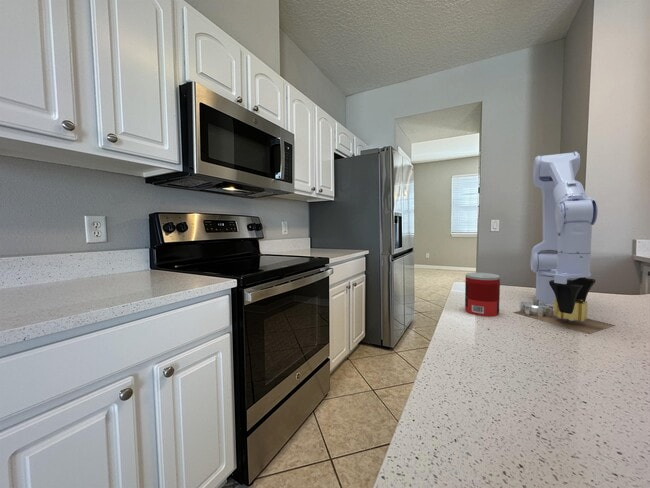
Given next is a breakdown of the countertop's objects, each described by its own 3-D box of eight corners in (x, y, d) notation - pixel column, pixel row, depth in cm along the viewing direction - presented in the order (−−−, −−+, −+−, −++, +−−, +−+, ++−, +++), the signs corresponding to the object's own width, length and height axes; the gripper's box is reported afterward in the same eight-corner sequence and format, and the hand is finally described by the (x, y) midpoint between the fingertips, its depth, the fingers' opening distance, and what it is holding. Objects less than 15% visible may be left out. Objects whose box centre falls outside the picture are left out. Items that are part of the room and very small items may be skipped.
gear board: (538, 310, 78) (538, 294, 78) (615, 329, 63) (616, 310, 63) (512, 316, 74) (512, 299, 73) (589, 338, 59) (589, 317, 59)
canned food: (505, 320, 71) (506, 277, 70) (473, 320, 71) (474, 277, 70) (488, 310, 79) (489, 272, 78) (459, 311, 79) (460, 272, 78)
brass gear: (590, 317, 65) (590, 300, 64) (580, 322, 62) (581, 305, 62) (559, 311, 70) (560, 295, 69) (549, 315, 67) (550, 299, 66)
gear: (529, 307, 77) (530, 300, 77) (558, 315, 71) (559, 306, 71) (513, 311, 74) (513, 303, 74) (542, 319, 68) (542, 310, 68)
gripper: (564, 249, 72) (562, 301, 73) (539, 253, 64) (537, 311, 65) (602, 251, 66) (599, 308, 67) (578, 256, 58) (576, 319, 59)
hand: (571, 310), depth 65 cm, fingers closed on brass gear, 6 cm apart
